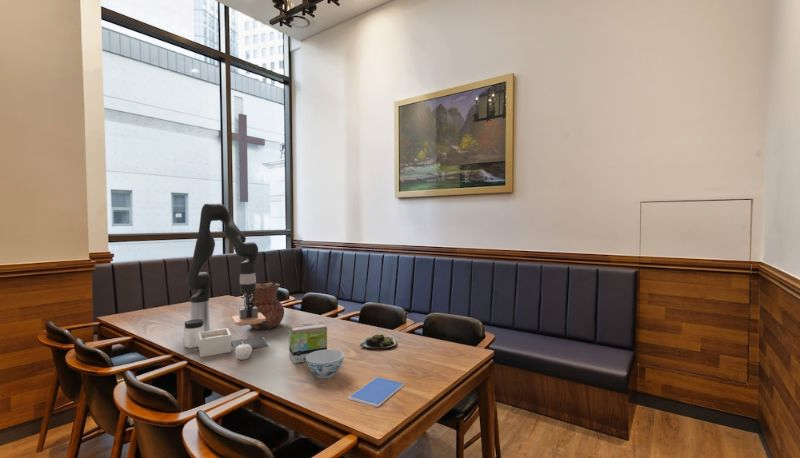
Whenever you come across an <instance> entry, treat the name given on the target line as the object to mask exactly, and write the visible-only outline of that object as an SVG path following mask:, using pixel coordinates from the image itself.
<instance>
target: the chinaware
mask: <svg viewBox="0 0 800 458" xmlns="http://www.w3.org/2000/svg"><path fill="white" fill-rule="evenodd" d="M344 359H345V354H344V352H343V351H341V350H338V349H329V348H327V349H326V350H318V351H314V352H312V353H310V354H308V355H307V356H306V361H305V362H306V364H307V367H308V368H309V370H310V371H311V372H312V373H313V374H315V375H316V377H317V378H319V379H330V378H333V376H334V374H335V373H336V372H337V371H338V370H340V368H341V366H342V365H343V361H344Z"/></svg>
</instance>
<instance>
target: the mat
mask: <svg viewBox="0 0 800 458" xmlns="http://www.w3.org/2000/svg"><path fill="white" fill-rule="evenodd" d="M241 341H242V342H243V343H244V344H249V345H250V346H251V347H252V350H255V349H262V348H268V347H269V344H268V343H267V341H266V340H265V339H264V337H262V336H255V337H249V338H242V339H238V340H237V339H236V340H231V347H232V348H233V349H234V351H235V348H236V347H237V346H239V345H242V342H241Z"/></svg>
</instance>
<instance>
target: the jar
mask: <svg viewBox="0 0 800 458" xmlns="http://www.w3.org/2000/svg"><path fill="white" fill-rule="evenodd" d="M198 332H204V325H203V320H201V319H194V320H191V319H189V320H186V321H184V327H183V347H185V348H189V349H191V348H197V347H198V348H199V338H198Z"/></svg>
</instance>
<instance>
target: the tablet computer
mask: <svg viewBox="0 0 800 458" xmlns="http://www.w3.org/2000/svg"><path fill="white" fill-rule="evenodd" d="M404 386H405V384H404V382H401V381H396V380H392V379H387V378H383V377H379V376H377V377H375V378H373V379H372V380H370V381H369V382H368V383H366V384H365V385H364V386H362V387H361V388H359V389H358V390H356V391H355V392H354V393H352V394H350V396H348V399H349V400H350V401H353V402H357V403H360V404H364V405H367V406H372V407H376V408H377V407H380V406H381V405H383V404H384V403H385V402H386V401H387V400H388V399H390V397H392V396H393V395H394V394H396V393H397V392H398V391H399V390H401V389H402V388H403V387H404Z"/></svg>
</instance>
